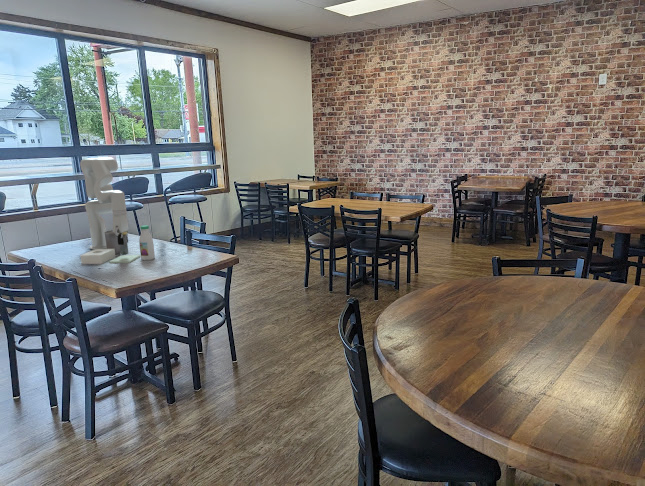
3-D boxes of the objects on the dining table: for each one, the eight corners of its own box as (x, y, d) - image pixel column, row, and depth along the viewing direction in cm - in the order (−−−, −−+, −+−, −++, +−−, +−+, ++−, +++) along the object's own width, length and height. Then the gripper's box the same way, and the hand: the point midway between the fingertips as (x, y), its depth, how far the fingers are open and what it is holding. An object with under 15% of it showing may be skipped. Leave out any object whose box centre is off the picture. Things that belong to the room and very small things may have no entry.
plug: (122, 252, 271) (119, 231, 268) (131, 252, 270) (128, 231, 268) (117, 255, 265) (114, 232, 263) (126, 254, 265) (124, 232, 262)
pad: (121, 257, 276) (120, 255, 276) (140, 256, 275) (140, 255, 275) (109, 263, 262) (109, 261, 262) (129, 263, 262) (129, 261, 261)
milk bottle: (151, 256, 275) (148, 224, 271) (157, 258, 270) (153, 225, 266) (139, 259, 270) (135, 226, 266) (144, 261, 265) (140, 227, 260)
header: (96, 256, 278) (95, 248, 277) (115, 256, 277) (114, 248, 276) (81, 263, 262) (80, 255, 261) (101, 263, 262) (100, 255, 260)
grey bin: (113, 250, 293) (110, 227, 289) (127, 251, 291) (124, 228, 287) (103, 254, 284) (100, 231, 280) (117, 254, 282) (114, 231, 278)
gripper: (120, 210, 271) (123, 240, 275) (105, 215, 255) (109, 247, 259) (132, 210, 271) (136, 240, 275) (118, 215, 254) (122, 246, 258)
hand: (123, 243), depth 267 cm, fingers closed on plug, 4 cm apart
